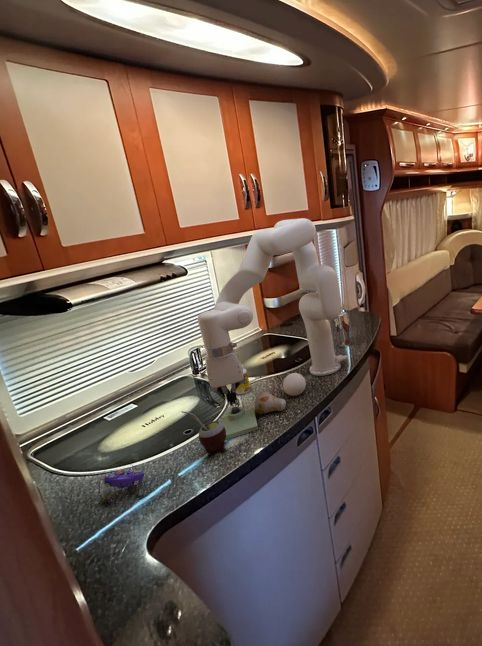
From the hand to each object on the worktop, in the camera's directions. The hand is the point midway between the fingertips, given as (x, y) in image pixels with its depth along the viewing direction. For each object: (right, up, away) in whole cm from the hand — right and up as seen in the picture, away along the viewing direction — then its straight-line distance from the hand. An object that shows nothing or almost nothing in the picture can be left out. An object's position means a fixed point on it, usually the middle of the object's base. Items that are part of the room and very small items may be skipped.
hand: (232, 402), depth 120 cm
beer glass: (+32, +14, +53) cm, 64 cm away
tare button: (+1, -3, +1) cm, 4 cm away
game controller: (-17, -17, -25) cm, 35 cm away
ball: (+18, 0, +13) cm, 22 cm away
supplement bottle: (-4, -1, +21) cm, 21 cm away
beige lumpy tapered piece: (+12, -4, +5) cm, 13 cm away
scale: (+2, -7, -2) cm, 7 cm away
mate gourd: (0, -11, -13) cm, 17 cm away
